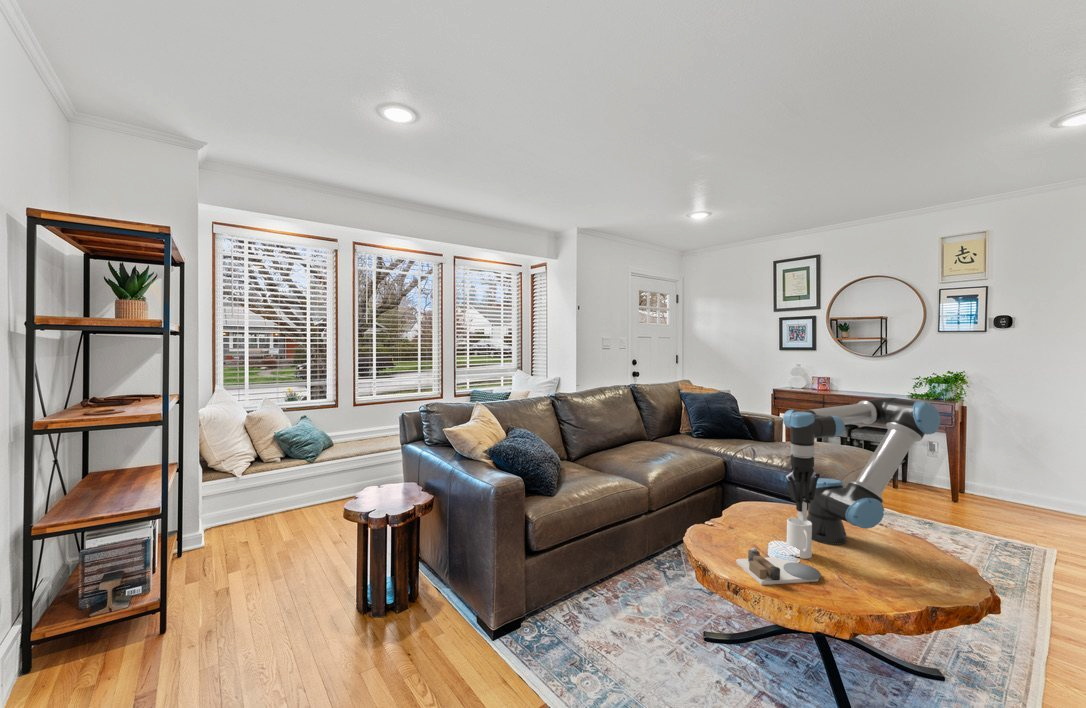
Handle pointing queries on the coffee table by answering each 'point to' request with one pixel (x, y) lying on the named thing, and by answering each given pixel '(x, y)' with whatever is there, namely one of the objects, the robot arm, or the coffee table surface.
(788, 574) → the stand board
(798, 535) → the mug
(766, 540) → the coffee table surface
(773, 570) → the leg
